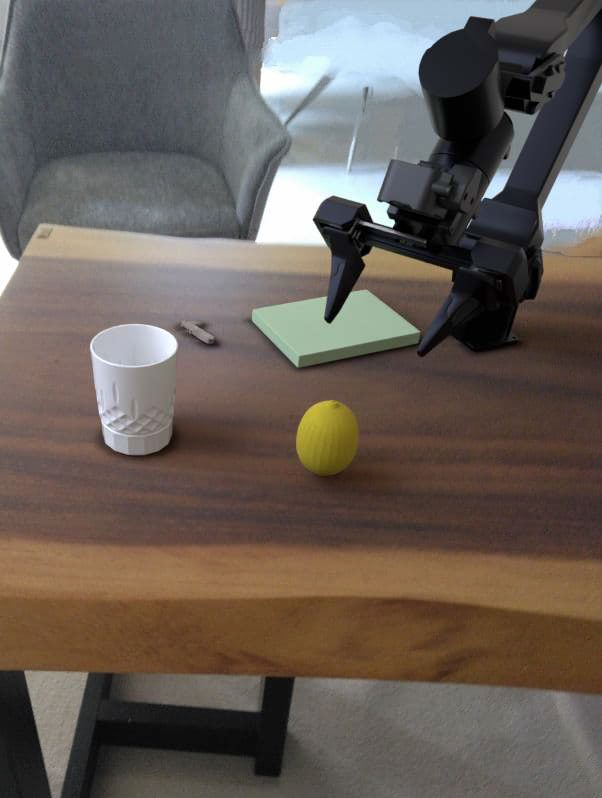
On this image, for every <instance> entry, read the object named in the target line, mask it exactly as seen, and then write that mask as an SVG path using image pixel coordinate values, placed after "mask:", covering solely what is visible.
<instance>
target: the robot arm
mask: <svg viewBox="0 0 602 798" xmlns="http://www.w3.org/2000/svg"><path fill="white" fill-rule="evenodd" d="M417 72H418V78H419V79H418V80H419V84H420V88H421V92H422V95H423V99H424V103H425V107H426V111H427V114H428V118H429V122H430V127H431V128H432V130H433V132H434V133H435V134H436V135H437V136H438V139H437V141H436V143H435V145H434V147H433V149H432V151H431V152H430V155H429V157H428V158H427V160H423V159H420V160H419V162H417V164H416V163H411V162H408V161H404V160H399V159H394V158H392V159H390V160H389V163H388V166H387V170H386V172H385V175H384V178H383V181H382V183H381V186H380V189H379V192H378V195H377V198H376V201H377V202H379V203H386V204H388V207H387V209H386V214H387V217H388V220H389V219H390V220H393V221H394V224H393V225H392V226H388V225H385V224H381V223H378V222H374V220H373V217H372V215H371V213H370V210H369V208H368V206H367V204H365V203H362V202H359V201H355V200H352V199H348V198H344V197H340V196H337V195H335V194H334V195H333V194H332V195H331V196H329V197H327V198H325V199H323V201H321V203H320V204H319V206H318V208H317V210H316V211H315V214H314V216H313V218H312V219H311V220H312V222H313V223H314V225H315V227H316V229H317V230H318V232H319V234H320V236H321V237H322V239H323V241H324V242H325V244H326V246H327V248H328V249H329V251H330V254H331V255H330V257H331V260H330V275H329V282H328V289H327V294H326V295H327V301H326V308H325V314H324V320H325V321H326V322H327V323H329V324H331V323H332V321H333V320H334V319H335V317H336V316H337V315H338V313H339V312H340V310H341V309H342V307H343V305H344V303H345V302H346V300H347V298H348V296H349V294H350V293H351V292H353V289H354V287H355V285H356V284H357V282H358V281H359V279H360V277H361V275H362V273H363V271H364V270H365V268H366V267H367V265H366V263H365V261H364V259H363V257H366V256H368V255H369V254H370V253H371V251H372V249H373V248H377V249H379V250H383V251H386V252H389V253H393V254H395V255H399V256H402V257H406V258H410V259H412V260H416V261H419V262H423V263H426V264H429V265H432V266H435V267H439V268H443V269H445V270H448V271H452V272H451V282H452V283H453V284H452V287H451V289H450V292H449V294H448V295H447V297H446V299H445V300H444V302H443V304H442V305H441V307H440V308H439V310H438V311H437V313H436V315H435V317H434V318H433V319H432V322H431V323H430V325H429V327H428V328H427V329H426V331H425V333H424V335H423V337H422V339H421V340H420V343H419V345H418V348H417V351H416V354H417V356H418V357H419V358H424V357H425V356H426V355H427V354H429V353H430V352H431V351H433V350H434V349H435V348H437V346H438V345H440V344H441V343H442V342H444V340H446V339H448V337H450V336H451V335H452V337H454V338H455V339H456V340H458V341H459V342H461V343H462V344H463V345H464V346H466V347H467V348H468V349H469V350H471V351H474V352H481V351H484V350H489V349H494V348H495V349H496V348H498V347H504V346H509V345H513V344H517V343H518V342H519V340H520V339H519V336H517V335H516V334H514V333H513V332H511V331H512V328H513V325H514V321H515V318H516V315H517V312H518V309H519V306H520V304H522V303H524V301H533V300H535V299H536V298H537V295H538V293H539V289H540V286H541V283H542V277H543V275H544V271H545V269H544V260H543V251H542V246H543V244H544V241H545V232H544V221H543V213H542V212H543V208H544V206H545V204H546V202H547V200H548V198H549V196H550V193H551V191H552V189H553V188H554V185H555V183H556V181H557V179H558V177H559V174H560V172H561V170H562V169H563V166H564V164H565V162H566V160H567V158H568V156H569V153H570V151H571V149H572V147H573V145H574V143H575V141H576V139H577V136H578V134H579V132H580V130H581V128H582V126H583V124H584V122H585V120H586V117H587V115H588V113H589V111H590V109H591V107H592V106H593V103H594V101H595V98H596V97H597V94H598V92H599V90H600V88H601V86H602V0H534V1H533V3H531V5H530V6H529V7H528V8H527V9H526V10H525V11H523V12H519V13H515V14H512V15H507V16H502V17H500V18H499V19H498V20H495V18H488V17H481V16H475V15H470V16H469V17H468V18H467V21H466V22H465V25H464V27H463V28H459V29H456V30H454V31H451V32H449V33H446V34H445V35H443V36H441V37H440V38H439V39H437V40H435V42H433V44H432V45H431V46H430V47H428V48H426V49H425V51H424V53H423V54H422V56H421V58H420V61H419V65H418V71H417ZM507 111H508V112H512V113H513V112H514V113H518V114H523V115H529V116H533V115H535V114H537V115H536V117H535V120H534V122H533V124H532V126H531V128H530V131H529V132H528V135H527V137H526V139H525V141H524V144H523V146H522V148H521V149H520V152H519V154H518V157H517V158H516V160H515V163H514V165H513V168H512V169H511V171H510V173H509V176H508V179H507V180H506V183H505V184H504V187H503V189H502V190H501V191H500V192H498V193H497V194H496V195H494V196H492V198H489V197H484V196H485V194H486V192H487V190H488V188H489V187H490V185H491V183H492V181H493V180H494V177H495V175H496V173H497V171H498V169H499V168H500V165H501V164H502V162H503V160H504V161H507V160H508V158H509V157H510V153H511V149H512V143H513V141H514V138H515V128H514V122H513V120H512V118H511V117H510V115H509V114H508V113H507Z"/></svg>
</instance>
